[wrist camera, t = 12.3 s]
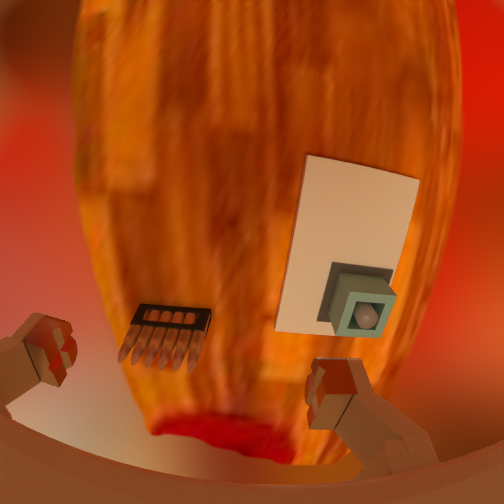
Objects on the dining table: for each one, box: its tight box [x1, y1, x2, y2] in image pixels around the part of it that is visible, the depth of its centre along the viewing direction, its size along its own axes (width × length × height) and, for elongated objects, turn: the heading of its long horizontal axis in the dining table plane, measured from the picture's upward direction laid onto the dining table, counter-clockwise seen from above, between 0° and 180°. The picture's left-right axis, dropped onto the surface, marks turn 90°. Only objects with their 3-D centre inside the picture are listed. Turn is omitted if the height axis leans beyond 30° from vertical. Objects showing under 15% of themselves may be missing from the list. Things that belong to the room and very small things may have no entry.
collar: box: [328, 272, 397, 338], centre depth 37 cm, size 6×6×5 cm
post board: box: [274, 154, 420, 336], centre depth 36 cm, size 24×15×8 cm, turn 173°
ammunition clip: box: [118, 304, 211, 372], centre depth 37 cm, size 11×2×12 cm, turn 88°
